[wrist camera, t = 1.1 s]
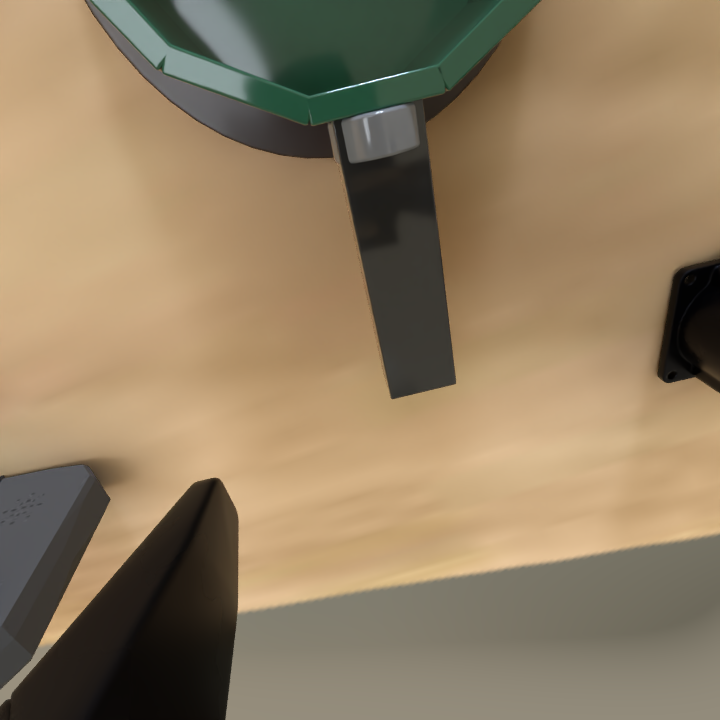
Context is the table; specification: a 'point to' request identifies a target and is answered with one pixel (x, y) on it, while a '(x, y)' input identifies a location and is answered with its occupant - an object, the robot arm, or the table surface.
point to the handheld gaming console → (41, 552)
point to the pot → (348, 124)
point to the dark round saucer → (250, 121)
